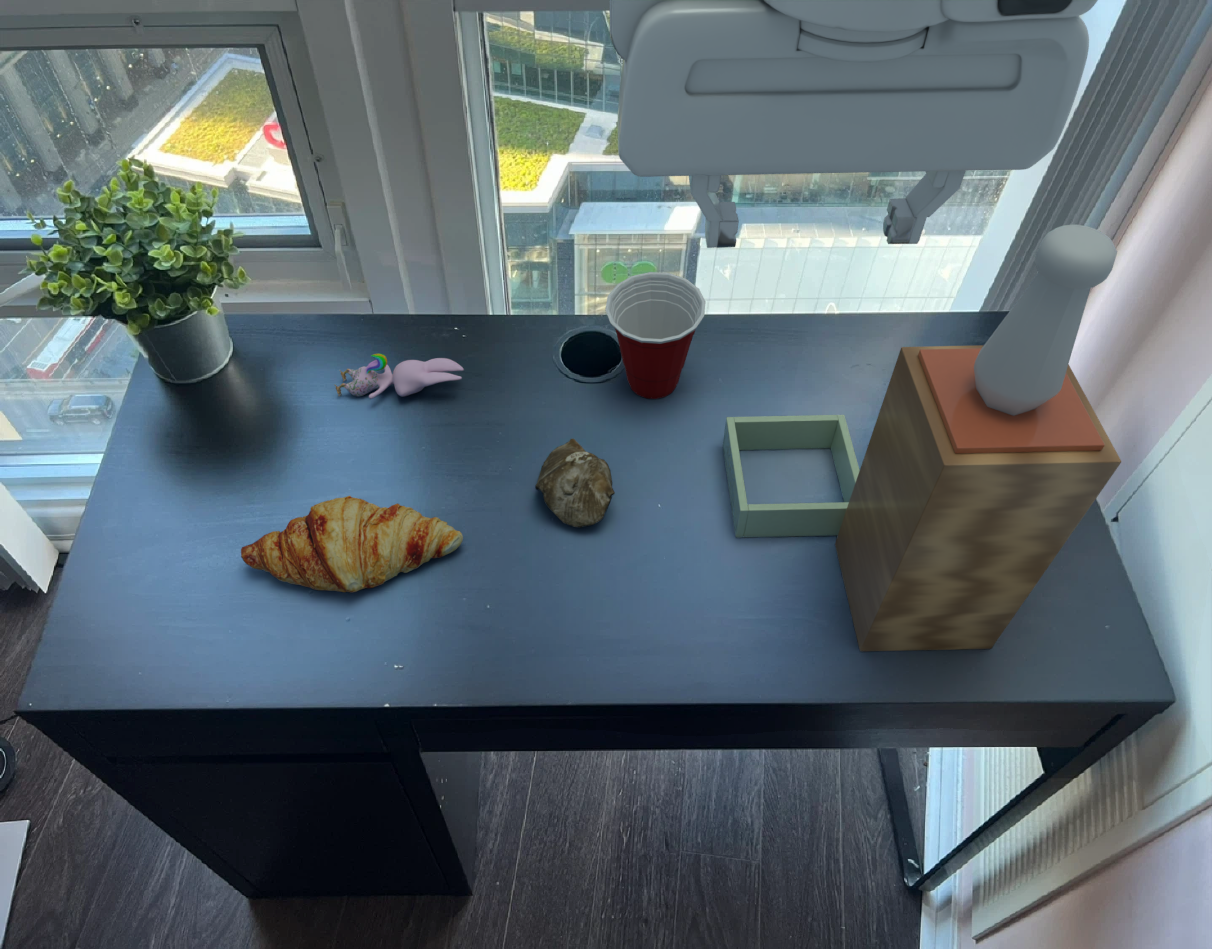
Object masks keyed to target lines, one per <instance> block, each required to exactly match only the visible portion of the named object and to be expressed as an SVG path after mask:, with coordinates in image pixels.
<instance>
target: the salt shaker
mask: <svg viewBox="0 0 1212 949" xmlns="http://www.w3.org/2000/svg"><path fill="white" fill-rule="evenodd" d="M1117 254H1118V250H1117V249H1116V246H1115V244H1114V242H1113V240H1112V239H1111V238H1110V237H1109V236H1108V235H1106V234H1105V233H1104V232H1103V231H1101V230H1099V229H1096V228H1094V227H1091V226H1089V225H1082V224H1065V225H1064V224H1063V225H1060V226H1058V227H1055V228H1053V229H1052V230H1050V231H1048V232H1047V233H1046V234H1045V235H1044V236H1043V238H1042V240H1041V241H1040V243H1039V246H1038V248H1037V250H1036V253H1035V256H1034V261H1033V262H1034V265H1035V268H1036V270H1037V273H1036V275H1035V276H1034V277H1033V279H1032V280H1031V281H1030V283H1029V284H1028V286H1027V287H1026V288H1025V289H1024V292H1023V293H1022V294H1021V295H1020V297H1019V298H1018V300H1017V301H1016V302H1015V304H1014V305H1013V306H1012V308H1011V309H1010V310H1009V312H1007V314H1006V315H1005V317H1004V318H1003V319H1002V320H1001V322H1000V323H999V325H998V326H997V327H996V329H995V330H994V331H993V333H992V334H991V335H990V337H989V338H988V339H987V340H986V342H985V343H984V344H983V345H984V346H983V347H982V349H981V350H980V352H979V354H978V356H977V358H976V360H975V364H974V373H975V381H976V389H977V391H978V392H979V394H980V396H981V397H982V399H983V400H984V402H985V404H986V405H987V407H990V408H993V409H995V410H998V411H1001V412H1004V413H1007V414H1010V415H1013V416H1015V415H1018V414H1021V413H1024V412H1027V411H1030V410H1033V409H1036V408H1037V407H1039V406H1040V405H1042V404H1043V403H1045V402H1046V401H1048V400H1049V399H1051V398H1052V397H1054V396H1056V395H1057V394H1058V393H1059V391H1060V390H1061V388H1062V384H1063V381H1064V378H1065V374H1066V371H1067V367H1068V364H1069V365H1070V359H1071V356H1072V354H1073V351H1074V347H1075V344H1076V340H1077V336H1078V333H1079V330H1080V325H1081V322H1082V319H1083V316H1084V312H1085V309H1086V305H1087V303H1088V298H1089V295H1090V292H1091V289H1093V288H1095V287H1097V286H1099V285H1100V284H1102V283H1104V282H1105V280H1107V278H1108V277H1109V276H1110V274H1111V272H1112V271H1113V268H1114V265H1115V262H1116V257H1117Z"/></svg>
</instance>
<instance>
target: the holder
mask: <svg viewBox="0 0 1212 949" xmlns="http://www.w3.org/2000/svg"><path fill="white" fill-rule="evenodd" d="M724 424H725V425H724V432H723V438H722V452H723V459H724V466H725V472H726V480H727V486H728V493H729V499H730V500H729V501H730V509H731V515H732V523H733V529H734V537H735V538H777V537H781V538H782V537H821V536H825V537H826V536H828V537H829V536H838V533H839V530H840V527H841V524H842V521H843V518H844V516H845V513H846V510H847V507H848V504H849V501H850V498H851V495H852V492H853V489H854V486H855V483H856V480H857V477H858V474H859V471H860V466H859V462H858V459H857V456H856V451H855V448H854V445H853V441H852V437H851V434H850V429H849V426H848V423H847V419H846V416H845V414H812V415H807V414H806V415H804V414H803V415H762V416H761V415H759V416H758V415H757V416H727V417H725V423H724ZM805 449H806V450H808V449H812V450H813V449H830V452H831V455H832V459H833V463H834V467H835V472H836V475H837V479H838V484H839V486H840V491H841V494H842V500H843V502H839V501H838V502H796V503H795V502H793V503H790V502H789V503H788V502H787V503H748V498H747V492H746V486H745V485H746V484H745V481H744V479H745V478H744V473H743V466H742V460H741V454H740V451H759V450H761V451H762V450H763V451H764V450H805Z"/></svg>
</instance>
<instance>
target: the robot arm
mask: <svg viewBox="0 0 1212 949" xmlns="http://www.w3.org/2000/svg"><path fill="white" fill-rule="evenodd" d="M1098 1H1099V0H609V3H608V4H609V6H608V8H609V12H608V14H609V37H610V41H611V44H612V46H613V48H614V51H615V52H616V53H617V54H618V56H619V57H620V58H621V59H622V64H621V65H622V66H621V73H620V81H619V91H618V102H617V104H618V106H617V150H618V151H617V152H618V158H619V159H620V161H621V162H622V163H623V164H624V165H625V167H626V168H627V169H628V170H629V171H630V172H631V173H632V174H633V175H634V176H635V177H643V178H644V177H647V178H650V177H651V178H652V177H653V178H654V177H688V180H689V182H688V183H689V189H690V194H691V196H692V197H693V199H694V200H695V202H696V204H697V206H698V208H699V209H700V211H701V212H702V215H703V216H704V218H705V219H704V237H705V238H704V239H705V244H706V245H705V246H706V249H722V248H725V249H726V248H736V246H737V234H738V231H739V221H740V220H739V216H738V212H737V205H736V201H720V200H719V197H718V196H717V193H718V192H719V191H720V187H721V180H722V176H751V175H752V176H753V175H754V176H755V175H756V176H757V175H761V176H762V175H807V174H808V175H809V174H810V175H813V174H854V173H855V174H856V173H857V174H866V173H867V174H868V173H909V172H910V173H912V172H920V173H921V172H925V174H924V175H923V177H921V179H920V180H919V181H918V182H917V183H916V184H915V185H914V187H913V188H912V189H911V191H910V192H909V193H908V194H907V195H906V196H905V197H901V198H889V201H888V204H887V208H886V212H887V215H886V216H884V219H883V223H882V232H883V235H884V236H885V237H886V243H887V244H888V245H917V244H919V242H920V240H921V236H922V234H923V230H924V228H925V224H926V221H927V218H930V217H931V216H933V214H935V212H936V211H937V210H939V209H940V208H941V207H942V206H943V205H944V204H945V203H946V202H947V201H948V200H949V199H950V198H951V197H952V196H953V195H954V194H956V193H957V192H958V191H959V190H960V188H961V185H962V184H963V181H964V177H965V174H966V171H967V172H968V171H969V172H970V171H1022V170H1028V169H1031V168H1032V167H1033V166H1035V165H1036V164H1037V163H1039V162H1040V161H1041V160H1042V159H1044V158H1045V157H1046V156H1047V155H1048V154H1050V152H1052V151H1053V150H1054V149H1055V147H1056V145H1057V144H1058V142H1059V140H1060V138H1061V136H1062V133H1063V131H1064V129H1065V127H1066V123H1067V121H1068V118H1069V116H1070V113H1071V110H1072V108H1073V106H1074V102H1075V100H1076V96H1077V93H1078V91H1079V87H1080V85H1081V81H1082V77H1083V74H1084V71H1085V67H1086V63H1087V59H1088V55H1089V49H1090V48H1089V47H1090V36H1089V35H1090V34H1089V30H1088V27H1087V25H1086V23H1085V22H1084V20H1083V19H1082V17H1081V16H1082V15H1084V14H1086V13H1087V12H1089V11H1090V10H1092V9H1093V7H1095V5H1096V4H1097V2H1098Z"/></svg>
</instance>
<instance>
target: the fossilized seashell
mask: <svg viewBox="0 0 1212 949" xmlns="http://www.w3.org/2000/svg"><path fill="white" fill-rule="evenodd" d="M534 487H535V490H537V491H540V492H541V494H542V496H543V501H544V503H545V505H546V506H547V508H548V509H549V510H550V511H551V512H552V513H553V515H555V517H557V518H558V519H559V521H561V522H562V524H565V525H567V526H569V527H574V528H579V529H581V528H583V527H591V526H594V525H595V524H598V523H599V522H601V521H602V520H603V519H604V517H605V515H606V512H607V510H608V508H609V506H610V503H611V500H612V496H614V495H615V494H616V492H615V490H614V488H613V477H612V470H611V468H610V466H609V463H608V462H607V461H606V460H605V459H603V458H599V457H598V455H596V454H595V453H592V452H589V451H586V450H585V449H584V447H583V446H582V445H581V444H580V443H579V442H578V441H577V440H576V439H575V438H570V439H569V440H568V441H567V442H566V443H564V444H562V445H559V446H557V447H555V448H554V449H553V450H552V451H550V453H549V454H548V456H547V457H546V459H544V461H543V463H542V466H541V468H540V471H539V474H538V478H537V481H536V484H535V485H534Z"/></svg>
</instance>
